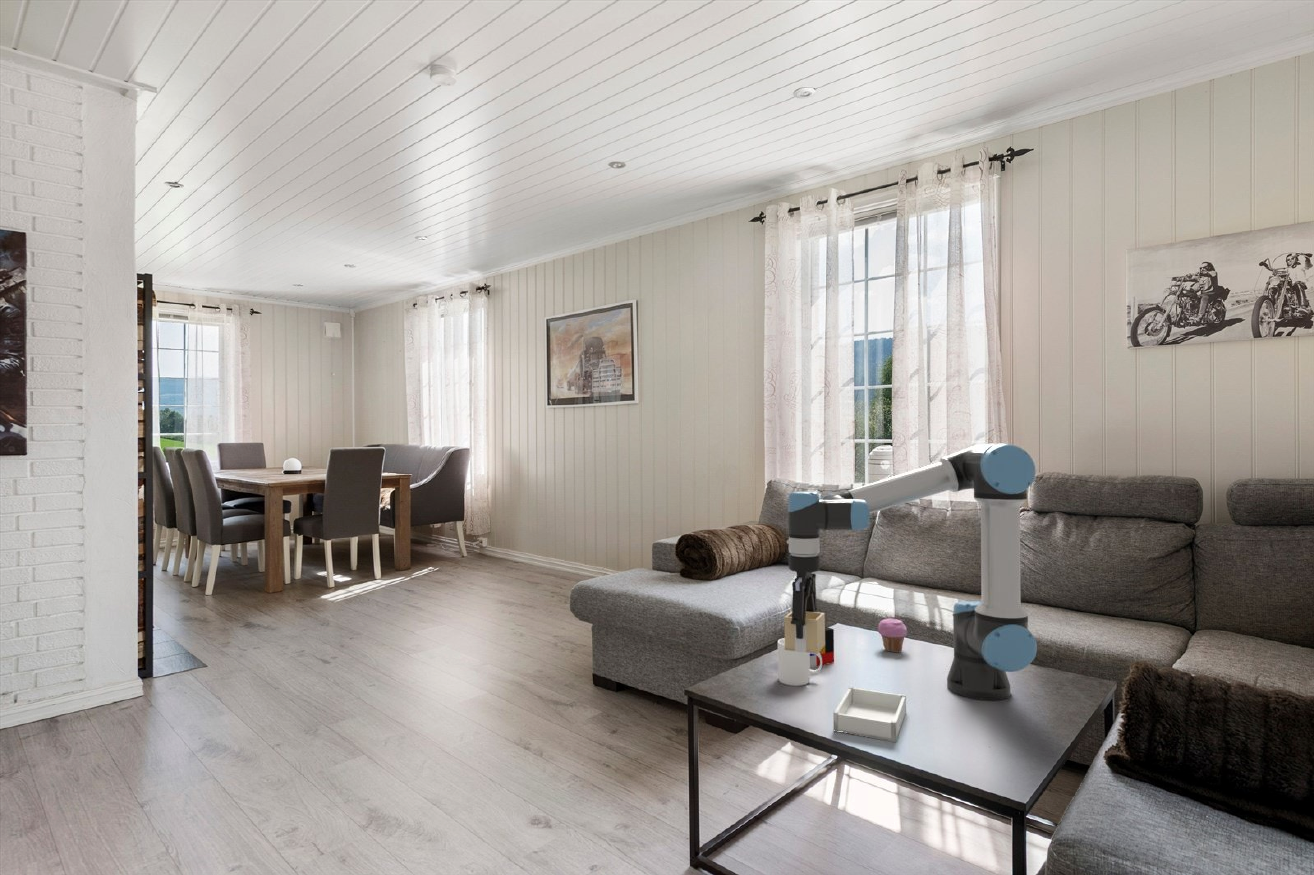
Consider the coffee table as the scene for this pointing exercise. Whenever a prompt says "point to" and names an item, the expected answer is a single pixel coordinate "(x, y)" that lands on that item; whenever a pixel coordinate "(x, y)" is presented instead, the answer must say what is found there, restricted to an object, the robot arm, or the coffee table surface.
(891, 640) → the cupcake
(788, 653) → the mug
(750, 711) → the coffee table surface
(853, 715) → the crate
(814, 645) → the small crate
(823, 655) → the puzzle toy
